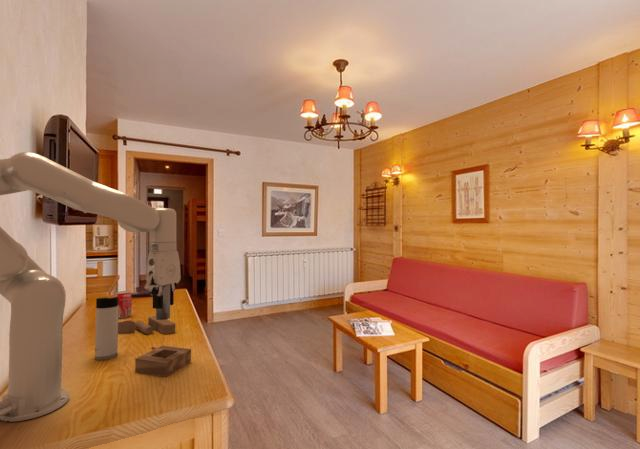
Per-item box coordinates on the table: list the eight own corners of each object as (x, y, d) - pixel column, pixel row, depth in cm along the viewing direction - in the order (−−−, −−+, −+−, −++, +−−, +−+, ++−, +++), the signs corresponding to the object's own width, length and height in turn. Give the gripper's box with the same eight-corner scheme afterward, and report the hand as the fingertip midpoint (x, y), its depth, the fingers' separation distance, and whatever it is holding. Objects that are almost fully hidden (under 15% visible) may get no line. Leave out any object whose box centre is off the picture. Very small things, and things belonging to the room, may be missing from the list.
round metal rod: (164, 320, 97) (164, 274, 97) (153, 319, 98) (152, 273, 98) (173, 316, 100) (173, 272, 100) (162, 315, 101) (162, 272, 101)
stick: (171, 353, 109) (171, 351, 109) (169, 354, 108) (169, 352, 108) (153, 348, 114) (153, 346, 114) (151, 348, 113) (151, 346, 113)
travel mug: (91, 361, 102) (92, 298, 102) (99, 353, 108) (100, 294, 108) (113, 359, 103) (114, 298, 104) (120, 351, 110) (121, 293, 110)
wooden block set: (158, 312, 142) (176, 320, 131) (157, 325, 142) (176, 334, 130) (115, 320, 130) (130, 329, 118) (114, 333, 130) (130, 344, 118)
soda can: (115, 316, 154) (115, 291, 155) (132, 314, 157) (132, 290, 157) (112, 319, 148) (113, 293, 148) (130, 318, 151) (130, 292, 151)
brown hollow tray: (166, 376, 92) (166, 362, 92) (135, 372, 95) (135, 358, 95) (190, 361, 102) (191, 349, 102) (162, 357, 105) (162, 345, 105)
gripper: (153, 250, 90) (153, 314, 90) (190, 246, 106) (190, 300, 106) (131, 249, 92) (131, 313, 92) (171, 245, 108) (171, 299, 108)
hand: (163, 305), depth 99 cm, fingers closed on round metal rod, 4 cm apart
